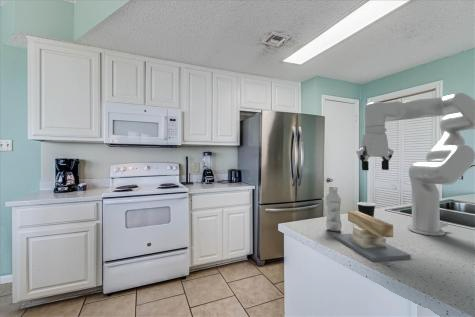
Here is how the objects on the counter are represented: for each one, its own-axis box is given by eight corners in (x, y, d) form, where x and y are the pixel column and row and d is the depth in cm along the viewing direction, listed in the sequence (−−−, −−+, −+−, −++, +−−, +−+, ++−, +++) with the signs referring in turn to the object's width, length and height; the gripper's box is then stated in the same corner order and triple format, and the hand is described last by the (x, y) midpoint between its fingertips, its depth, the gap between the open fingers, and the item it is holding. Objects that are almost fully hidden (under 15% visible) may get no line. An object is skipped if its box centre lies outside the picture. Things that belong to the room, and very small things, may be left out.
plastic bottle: (343, 233, 97) (342, 188, 97) (327, 232, 99) (326, 188, 99) (339, 228, 104) (339, 186, 104) (324, 228, 105) (324, 186, 105)
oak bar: (356, 220, 93) (356, 210, 93) (393, 237, 73) (393, 225, 73) (347, 220, 92) (347, 211, 92) (381, 237, 72) (381, 225, 73)
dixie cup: (379, 228, 103) (378, 205, 103) (361, 228, 105) (360, 205, 105) (371, 223, 111) (371, 202, 111) (354, 223, 113) (354, 201, 113)
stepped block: (371, 239, 87) (371, 224, 87) (385, 246, 80) (385, 229, 80) (350, 240, 86) (350, 225, 86) (363, 248, 79) (363, 231, 79)
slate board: (363, 235, 95) (363, 232, 95) (410, 258, 73) (410, 254, 73) (333, 237, 93) (333, 234, 93) (372, 261, 71) (372, 257, 71)
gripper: (385, 132, 100) (385, 169, 100) (351, 131, 98) (351, 170, 98) (399, 130, 93) (400, 170, 93) (363, 129, 91) (363, 170, 91)
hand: (375, 170), depth 95 cm, fingers open, 9 cm apart
